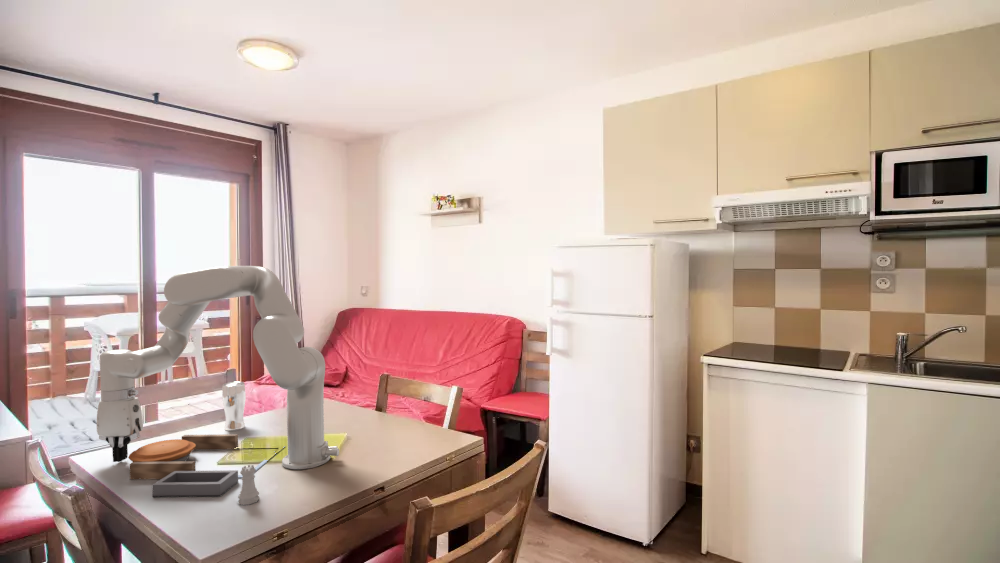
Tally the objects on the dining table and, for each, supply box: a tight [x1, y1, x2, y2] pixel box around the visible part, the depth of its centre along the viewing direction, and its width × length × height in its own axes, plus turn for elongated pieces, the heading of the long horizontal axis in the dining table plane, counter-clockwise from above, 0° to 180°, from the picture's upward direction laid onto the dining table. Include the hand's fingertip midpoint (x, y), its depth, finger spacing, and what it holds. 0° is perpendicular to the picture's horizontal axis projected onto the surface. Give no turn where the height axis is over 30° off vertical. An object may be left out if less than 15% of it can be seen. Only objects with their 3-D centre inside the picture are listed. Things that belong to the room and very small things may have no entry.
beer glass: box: [221, 381, 247, 432], centre depth 170 cm, size 7×7×15 cm
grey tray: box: [151, 469, 239, 498], centre depth 123 cm, size 16×8×3 cm, turn 90°
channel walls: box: [129, 433, 239, 480], centre depth 140 cm, size 16×22×4 cm
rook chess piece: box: [237, 464, 260, 506], centre depth 116 cm, size 4×4×8 cm
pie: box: [127, 438, 196, 463], centre depth 140 cm, size 15×16×5 cm
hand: (120, 459), depth 141 cm, fingers closed
